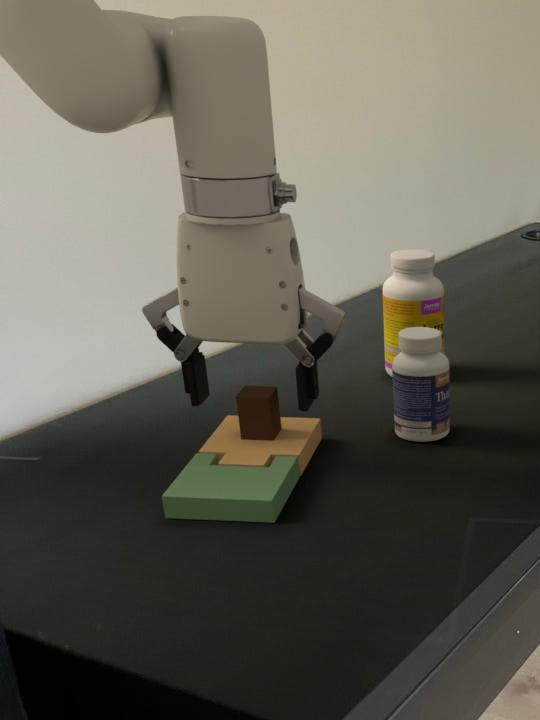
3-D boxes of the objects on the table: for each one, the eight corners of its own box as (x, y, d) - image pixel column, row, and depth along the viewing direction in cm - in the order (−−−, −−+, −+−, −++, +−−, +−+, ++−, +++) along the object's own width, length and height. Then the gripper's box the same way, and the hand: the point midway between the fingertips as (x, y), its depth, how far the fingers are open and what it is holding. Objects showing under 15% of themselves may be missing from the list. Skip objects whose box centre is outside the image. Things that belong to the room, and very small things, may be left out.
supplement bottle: (424, 386, 107) (421, 263, 100) (374, 376, 110) (368, 255, 103) (455, 370, 112) (455, 251, 105) (407, 360, 115) (403, 244, 108)
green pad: (165, 518, 80) (161, 496, 79) (199, 473, 87) (196, 452, 86) (274, 523, 79) (272, 500, 78) (299, 477, 87) (297, 456, 86)
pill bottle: (446, 444, 94) (445, 342, 88) (390, 442, 94) (386, 339, 89) (452, 424, 98) (452, 325, 93) (399, 422, 98) (395, 323, 93)
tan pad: (192, 483, 86) (181, 417, 82) (230, 434, 95) (221, 373, 92) (294, 487, 85) (288, 421, 82) (322, 438, 95) (317, 376, 92)
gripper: (346, 194, 82) (356, 394, 91) (142, 186, 83) (173, 386, 92) (328, 210, 76) (341, 423, 85) (108, 202, 77) (144, 414, 86)
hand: (253, 403), depth 89 cm, fingers open, 9 cm apart
